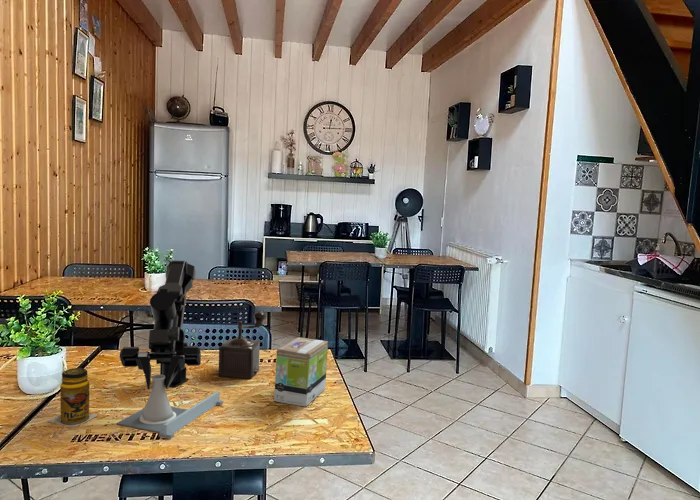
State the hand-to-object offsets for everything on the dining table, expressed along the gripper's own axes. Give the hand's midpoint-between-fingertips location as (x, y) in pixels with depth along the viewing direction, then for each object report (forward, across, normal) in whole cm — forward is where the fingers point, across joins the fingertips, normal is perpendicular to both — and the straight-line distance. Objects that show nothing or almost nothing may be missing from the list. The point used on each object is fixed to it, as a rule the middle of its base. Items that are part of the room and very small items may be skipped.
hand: (157, 388), depth 122 cm
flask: (+4, 0, +7) cm, 8 cm away
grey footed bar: (+6, +8, +6) cm, 12 cm away
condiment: (+4, -20, +8) cm, 21 cm away
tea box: (-4, +36, +15) cm, 40 cm away
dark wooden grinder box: (-19, +20, +31) cm, 42 cm away
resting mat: (+5, 0, +7) cm, 8 cm away
